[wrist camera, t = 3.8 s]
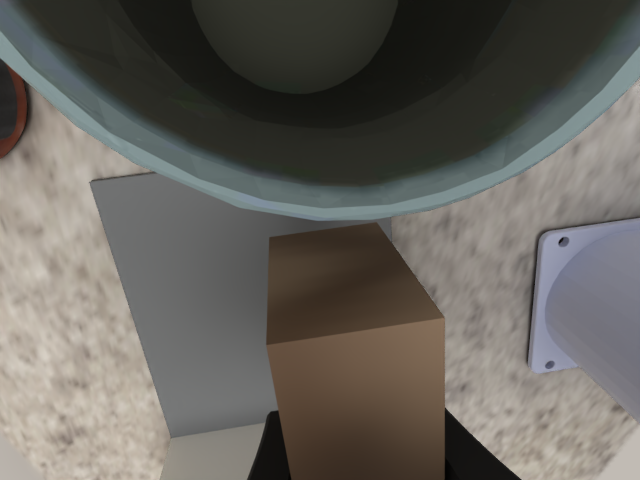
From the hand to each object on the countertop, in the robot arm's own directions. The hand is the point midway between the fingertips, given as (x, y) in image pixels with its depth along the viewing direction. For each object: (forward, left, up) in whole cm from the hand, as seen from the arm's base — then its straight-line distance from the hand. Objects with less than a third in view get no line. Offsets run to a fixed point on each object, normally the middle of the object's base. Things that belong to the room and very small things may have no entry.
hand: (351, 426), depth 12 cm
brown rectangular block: (0, 0, -2) cm, 2 cm away
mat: (+3, +4, -9) cm, 10 cm away
